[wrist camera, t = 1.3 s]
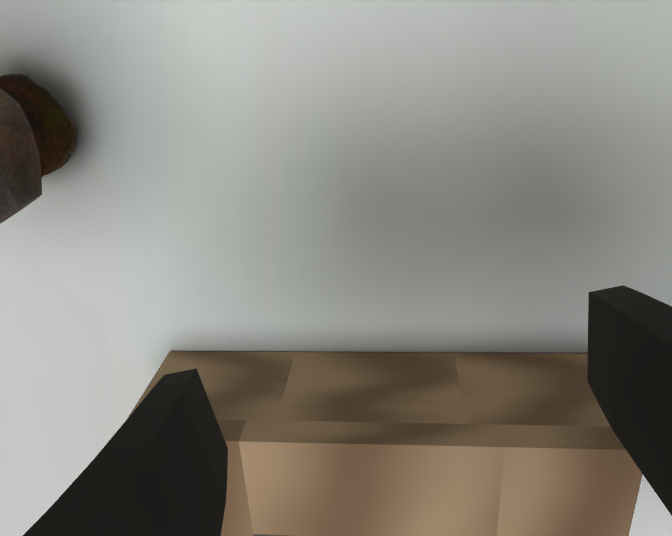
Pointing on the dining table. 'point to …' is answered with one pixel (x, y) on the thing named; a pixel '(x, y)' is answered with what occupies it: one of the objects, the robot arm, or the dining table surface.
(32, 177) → the bolt
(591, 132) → the dining table surface
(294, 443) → the band block
